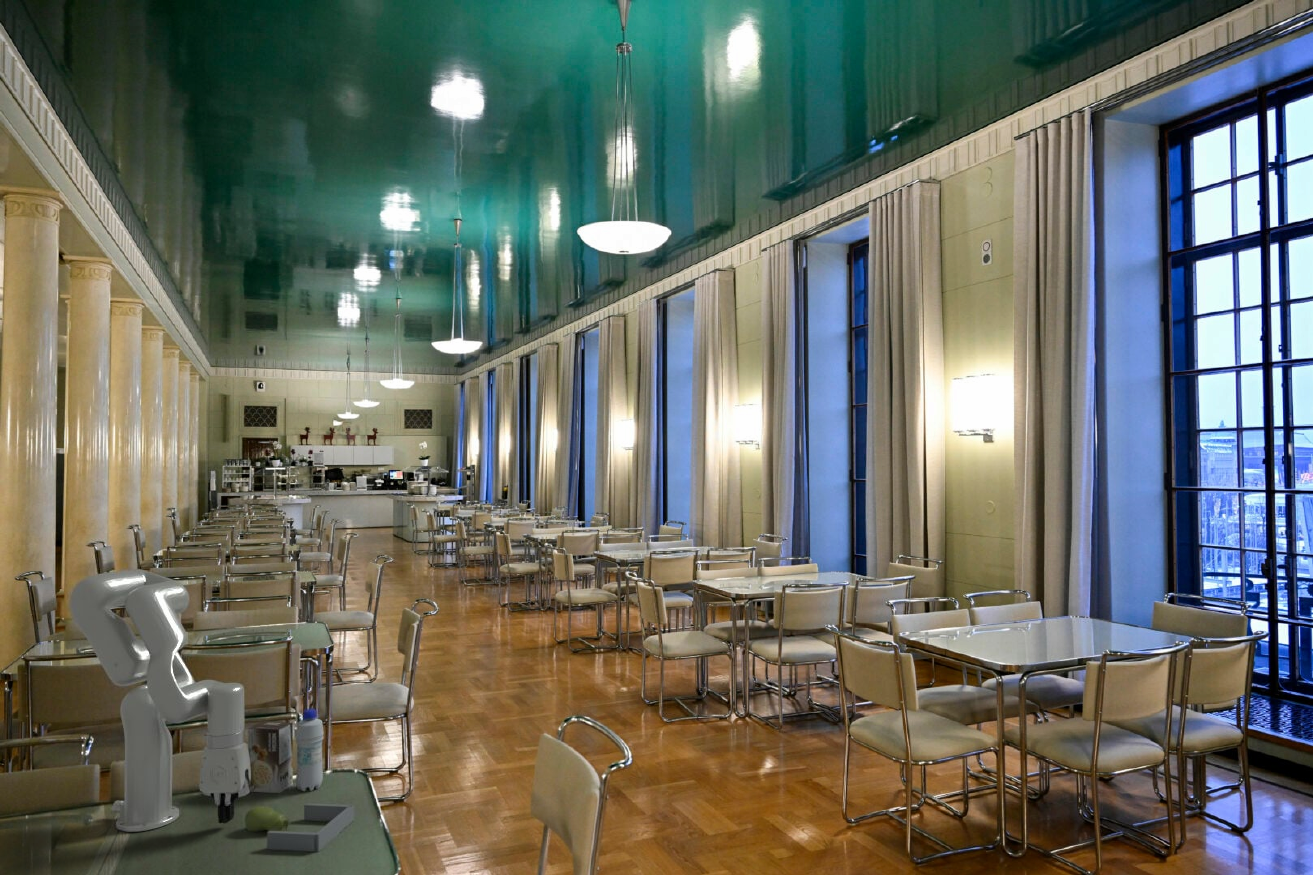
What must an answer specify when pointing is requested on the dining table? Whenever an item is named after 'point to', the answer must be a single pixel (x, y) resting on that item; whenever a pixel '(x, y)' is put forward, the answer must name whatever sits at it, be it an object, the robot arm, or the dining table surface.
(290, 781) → the coffee box
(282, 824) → the pear
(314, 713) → the bottle
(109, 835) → the dining table surface
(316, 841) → the box
